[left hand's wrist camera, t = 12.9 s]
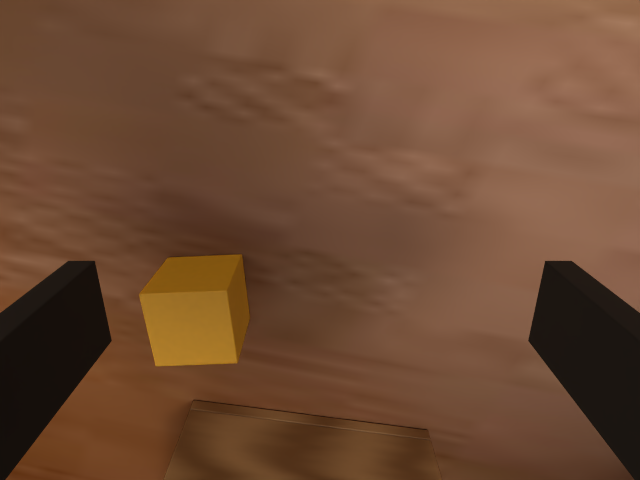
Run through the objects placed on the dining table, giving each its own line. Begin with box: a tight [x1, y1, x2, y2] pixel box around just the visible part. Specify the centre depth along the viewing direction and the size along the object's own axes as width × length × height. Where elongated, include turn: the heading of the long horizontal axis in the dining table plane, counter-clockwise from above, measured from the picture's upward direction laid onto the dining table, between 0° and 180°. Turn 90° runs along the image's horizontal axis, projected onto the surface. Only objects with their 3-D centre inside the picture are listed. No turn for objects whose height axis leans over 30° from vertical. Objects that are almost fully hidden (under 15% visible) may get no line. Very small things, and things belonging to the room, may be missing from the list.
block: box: [139, 254, 250, 366], centre depth 25 cm, size 4×4×4 cm
